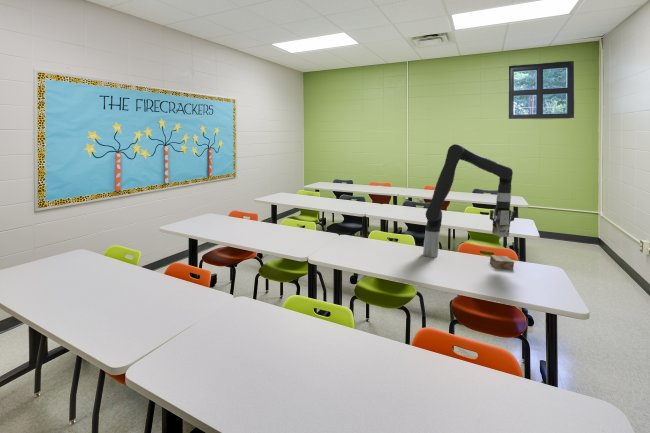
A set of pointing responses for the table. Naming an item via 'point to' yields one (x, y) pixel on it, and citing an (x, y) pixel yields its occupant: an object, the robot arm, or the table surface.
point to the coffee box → (502, 223)
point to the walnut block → (501, 262)
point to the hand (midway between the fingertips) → (501, 227)
